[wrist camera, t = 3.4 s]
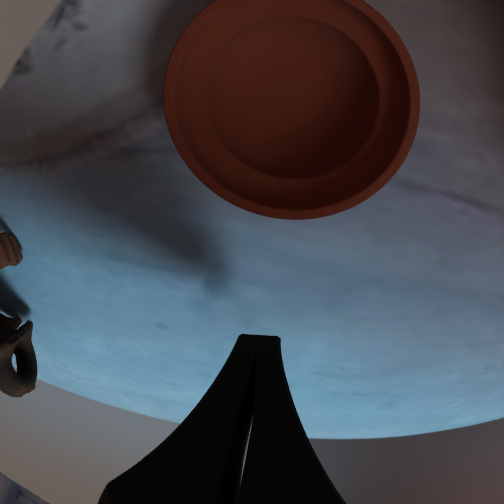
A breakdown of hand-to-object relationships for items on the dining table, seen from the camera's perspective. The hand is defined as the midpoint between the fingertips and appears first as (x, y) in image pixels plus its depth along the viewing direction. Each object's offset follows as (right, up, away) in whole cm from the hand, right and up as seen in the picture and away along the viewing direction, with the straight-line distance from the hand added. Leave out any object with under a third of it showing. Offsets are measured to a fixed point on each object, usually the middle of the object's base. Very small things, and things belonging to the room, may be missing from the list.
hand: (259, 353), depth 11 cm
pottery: (+1, +15, -5) cm, 15 cm away
